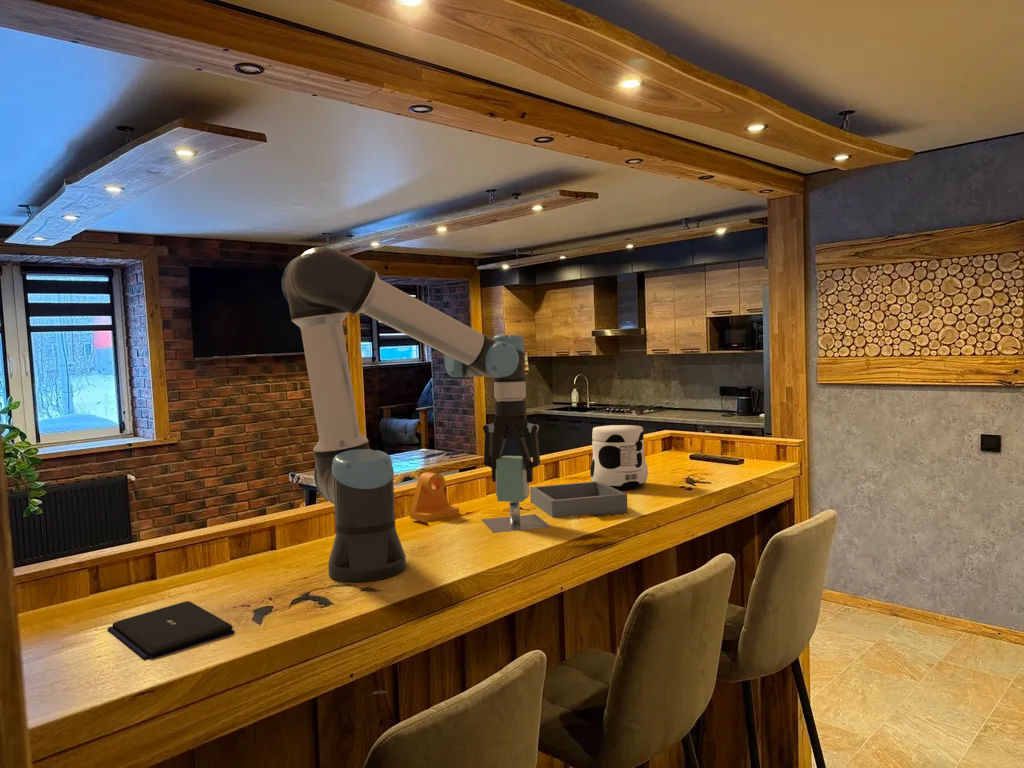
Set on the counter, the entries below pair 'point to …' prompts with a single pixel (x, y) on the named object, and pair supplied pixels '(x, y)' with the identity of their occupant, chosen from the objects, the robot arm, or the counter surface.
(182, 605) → the laptop
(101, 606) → the counter surface
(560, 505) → the bin
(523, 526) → the base
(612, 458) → the milk container
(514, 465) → the green rectangular block
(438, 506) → the bracket
